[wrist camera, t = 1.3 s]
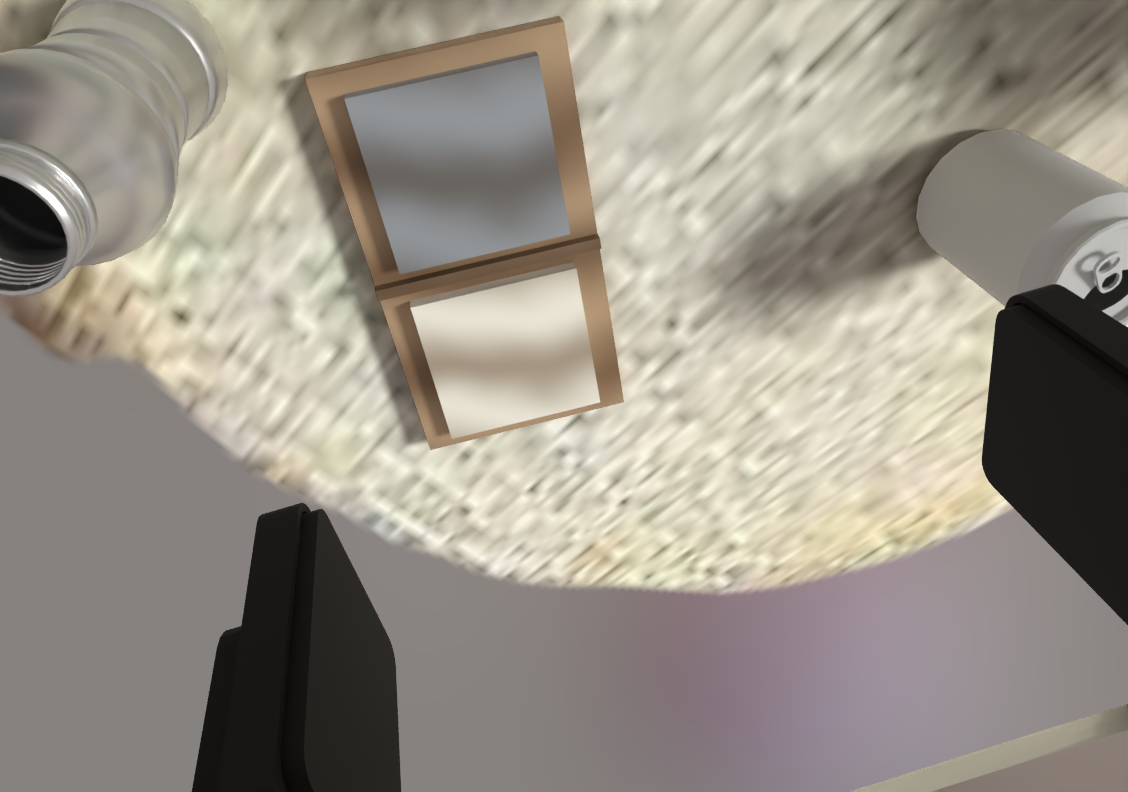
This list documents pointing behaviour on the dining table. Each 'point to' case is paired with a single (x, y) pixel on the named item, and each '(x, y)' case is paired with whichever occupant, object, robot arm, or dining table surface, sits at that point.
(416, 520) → the dining table surface
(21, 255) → the plastic bottle
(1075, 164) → the can
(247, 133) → the dining table surface
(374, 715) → the robot arm
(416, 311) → the makeup compact
